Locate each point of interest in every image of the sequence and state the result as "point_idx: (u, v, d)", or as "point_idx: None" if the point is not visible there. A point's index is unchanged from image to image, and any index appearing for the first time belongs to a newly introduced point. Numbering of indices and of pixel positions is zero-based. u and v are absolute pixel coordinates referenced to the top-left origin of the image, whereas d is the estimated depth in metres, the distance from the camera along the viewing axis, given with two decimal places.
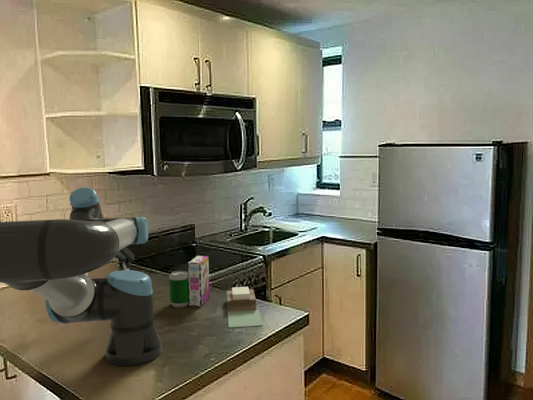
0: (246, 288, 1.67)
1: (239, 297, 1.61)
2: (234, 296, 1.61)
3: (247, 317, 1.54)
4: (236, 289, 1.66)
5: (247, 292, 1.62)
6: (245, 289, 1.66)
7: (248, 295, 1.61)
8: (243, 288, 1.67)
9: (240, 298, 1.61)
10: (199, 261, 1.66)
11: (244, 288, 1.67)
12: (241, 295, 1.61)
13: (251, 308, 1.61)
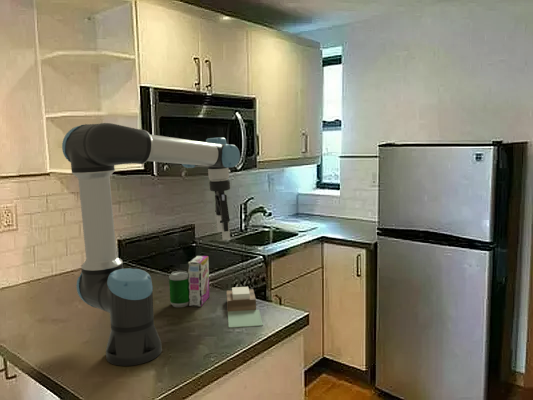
0: (246, 288, 1.67)
1: (239, 297, 1.61)
2: (234, 296, 1.61)
3: (247, 317, 1.54)
4: (236, 289, 1.66)
5: (247, 292, 1.62)
6: (245, 289, 1.66)
7: (248, 295, 1.61)
8: (243, 288, 1.67)
9: (240, 298, 1.61)
10: (199, 261, 1.66)
11: (244, 288, 1.67)
12: (241, 295, 1.61)
13: (251, 308, 1.61)
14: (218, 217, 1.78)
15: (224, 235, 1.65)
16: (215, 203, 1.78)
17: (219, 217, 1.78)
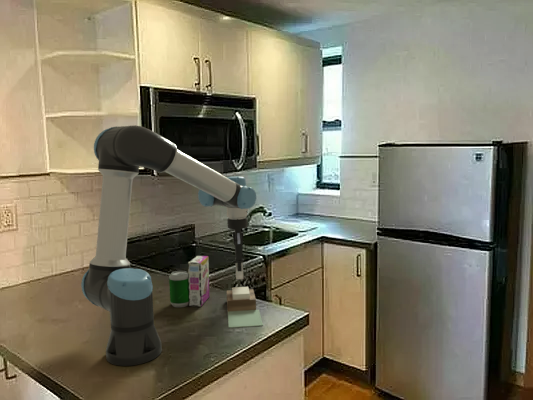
0: (246, 288, 1.67)
1: (239, 297, 1.61)
2: (234, 296, 1.61)
3: (247, 317, 1.54)
4: (236, 289, 1.66)
5: (247, 292, 1.62)
6: (245, 289, 1.66)
7: (248, 295, 1.61)
8: (243, 288, 1.67)
9: (240, 298, 1.61)
10: (199, 261, 1.66)
11: (244, 288, 1.67)
12: (241, 295, 1.61)
13: (251, 308, 1.61)
14: None
15: (237, 274, 1.74)
16: None
17: None
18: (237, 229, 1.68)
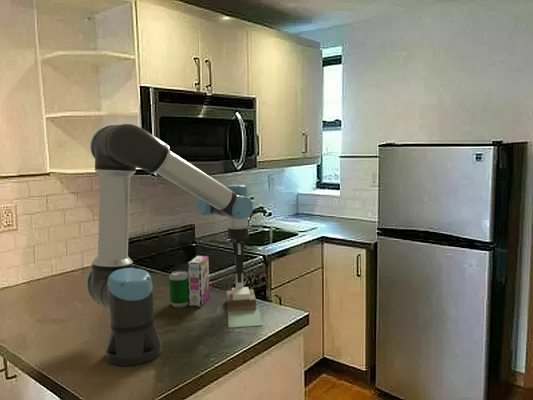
0: (246, 288, 1.67)
1: (239, 297, 1.61)
2: (234, 296, 1.60)
3: (247, 317, 1.54)
4: (236, 290, 1.65)
5: (247, 292, 1.62)
6: (245, 289, 1.65)
7: (248, 295, 1.61)
8: (243, 288, 1.67)
9: (240, 298, 1.61)
10: (199, 261, 1.66)
11: (244, 288, 1.67)
12: (241, 295, 1.61)
13: (251, 308, 1.61)
14: None
15: (237, 285, 1.68)
16: None
17: None
18: (238, 239, 1.63)
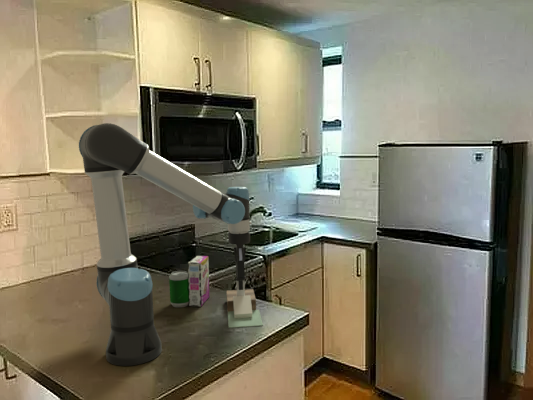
0: (248, 299, 1.58)
1: (241, 316, 1.53)
2: (236, 315, 1.53)
3: None
4: (237, 302, 1.56)
5: (249, 310, 1.54)
6: (247, 302, 1.57)
7: (250, 314, 1.53)
8: (245, 299, 1.58)
9: (242, 317, 1.53)
10: (199, 261, 1.66)
11: (246, 299, 1.58)
12: (243, 314, 1.53)
13: None
14: None
15: (238, 293, 1.60)
16: None
17: None
18: (239, 244, 1.55)
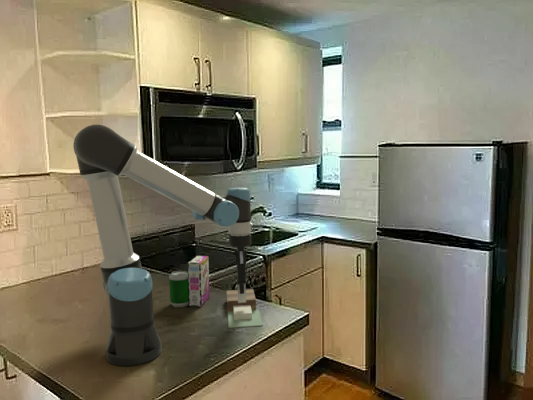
0: (248, 306, 1.58)
1: (240, 316, 1.52)
2: (235, 316, 1.52)
3: None
4: (237, 308, 1.57)
5: (249, 311, 1.54)
6: (247, 308, 1.57)
7: (250, 315, 1.53)
8: (245, 306, 1.59)
9: (242, 318, 1.52)
10: (199, 261, 1.66)
11: (246, 306, 1.58)
12: (243, 314, 1.52)
13: (251, 308, 1.61)
14: None
15: (239, 297, 1.55)
16: None
17: None
18: (240, 247, 1.50)
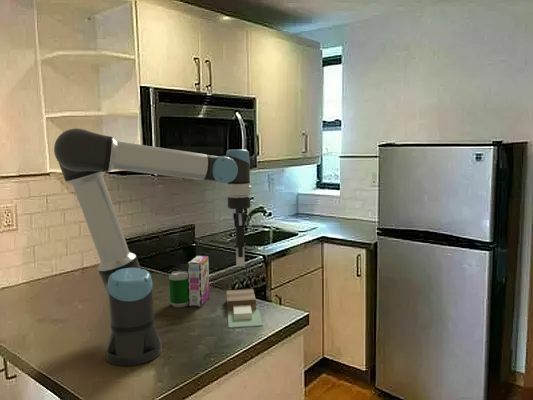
0: (248, 306, 1.58)
1: (240, 316, 1.52)
2: (235, 316, 1.52)
3: None
4: (237, 308, 1.57)
5: (249, 311, 1.54)
6: (247, 308, 1.57)
7: (250, 315, 1.53)
8: (245, 306, 1.59)
9: (242, 318, 1.52)
10: (199, 261, 1.66)
11: (246, 306, 1.58)
12: (243, 314, 1.52)
13: (251, 308, 1.61)
14: None
15: (238, 260, 1.53)
16: None
17: None
18: (239, 209, 1.48)
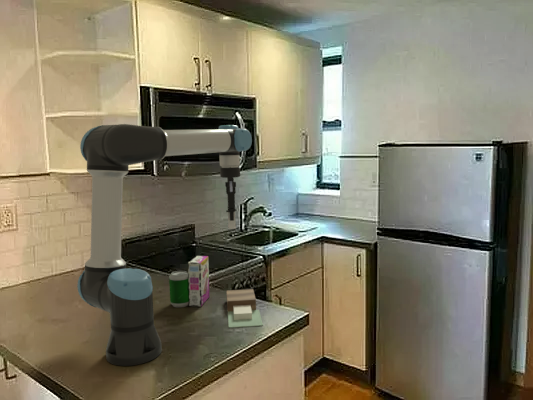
0: (248, 306, 1.58)
1: (240, 316, 1.52)
2: (235, 316, 1.52)
3: None
4: (237, 308, 1.57)
5: (249, 311, 1.54)
6: (247, 308, 1.57)
7: (250, 315, 1.53)
8: (245, 306, 1.59)
9: (242, 318, 1.52)
10: (199, 261, 1.66)
11: (246, 306, 1.58)
12: (243, 314, 1.52)
13: (251, 308, 1.61)
14: None
15: (229, 224, 1.74)
16: None
17: None
18: (230, 177, 1.69)
